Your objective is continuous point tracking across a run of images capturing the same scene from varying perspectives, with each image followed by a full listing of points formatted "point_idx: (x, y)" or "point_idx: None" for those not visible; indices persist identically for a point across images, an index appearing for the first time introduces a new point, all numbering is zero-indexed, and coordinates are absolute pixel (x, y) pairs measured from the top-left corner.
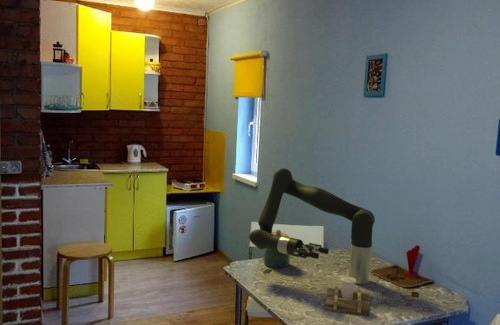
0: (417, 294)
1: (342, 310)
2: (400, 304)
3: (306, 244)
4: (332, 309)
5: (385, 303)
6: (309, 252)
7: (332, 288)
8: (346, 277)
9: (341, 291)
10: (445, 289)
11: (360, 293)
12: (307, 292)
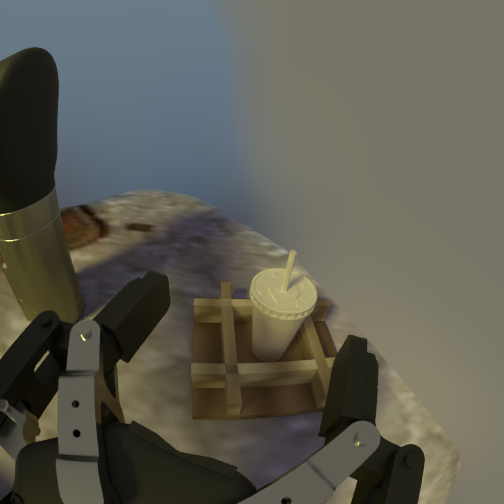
0: (140, 224)
1: (336, 354)
2: (205, 250)
3: (79, 493)
4: None
5: (210, 271)
6: (368, 426)
7: (227, 383)
8: (285, 288)
9: (282, 342)
10: (114, 198)
11: (235, 299)
12: None
